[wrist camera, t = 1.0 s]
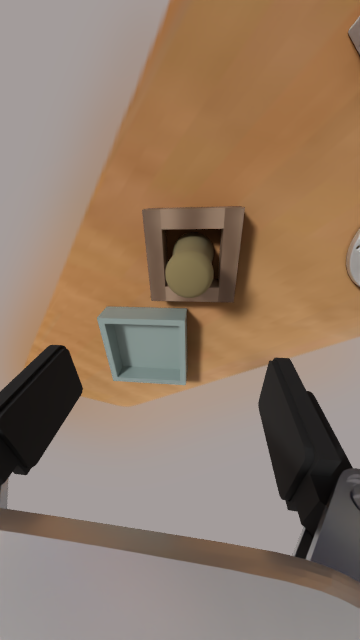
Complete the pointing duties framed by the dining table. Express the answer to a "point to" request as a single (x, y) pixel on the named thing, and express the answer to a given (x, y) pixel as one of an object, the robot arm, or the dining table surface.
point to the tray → (145, 344)
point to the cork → (190, 265)
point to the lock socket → (193, 219)
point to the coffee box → (355, 34)
